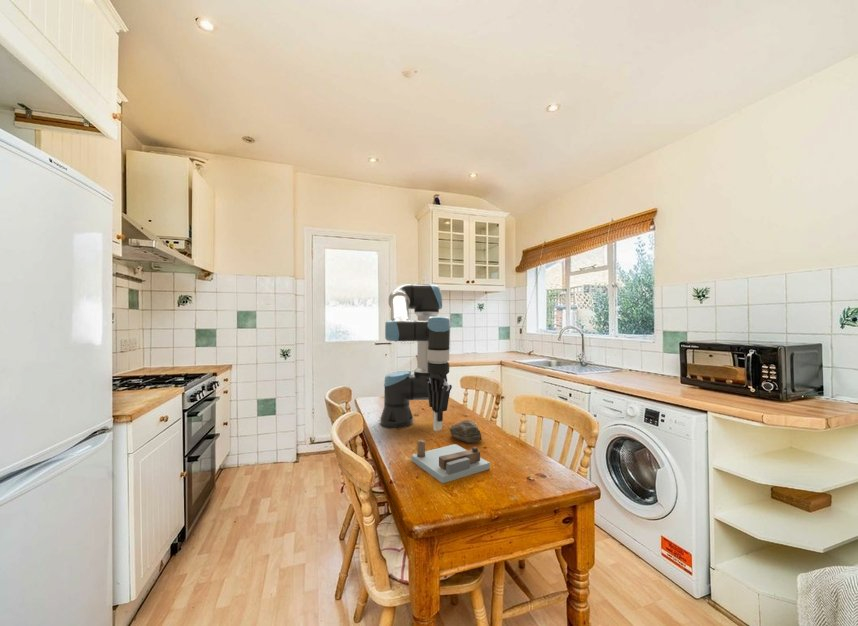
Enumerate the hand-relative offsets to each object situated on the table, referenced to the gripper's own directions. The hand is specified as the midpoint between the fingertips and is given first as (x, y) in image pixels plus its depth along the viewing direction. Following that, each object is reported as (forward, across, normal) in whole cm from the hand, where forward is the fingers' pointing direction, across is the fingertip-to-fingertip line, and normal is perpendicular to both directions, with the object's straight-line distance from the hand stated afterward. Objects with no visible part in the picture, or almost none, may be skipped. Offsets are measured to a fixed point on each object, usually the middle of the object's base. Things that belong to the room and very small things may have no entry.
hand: (437, 429), depth 119 cm
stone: (+12, +12, -22) cm, 28 cm away
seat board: (+11, -4, -2) cm, 12 cm away
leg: (+8, -10, -2) cm, 13 cm away
